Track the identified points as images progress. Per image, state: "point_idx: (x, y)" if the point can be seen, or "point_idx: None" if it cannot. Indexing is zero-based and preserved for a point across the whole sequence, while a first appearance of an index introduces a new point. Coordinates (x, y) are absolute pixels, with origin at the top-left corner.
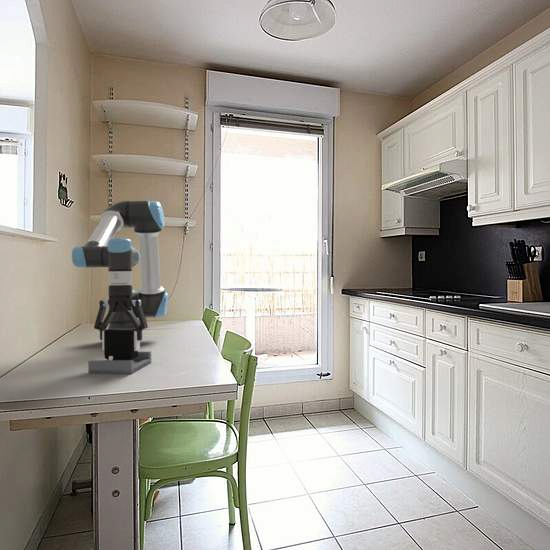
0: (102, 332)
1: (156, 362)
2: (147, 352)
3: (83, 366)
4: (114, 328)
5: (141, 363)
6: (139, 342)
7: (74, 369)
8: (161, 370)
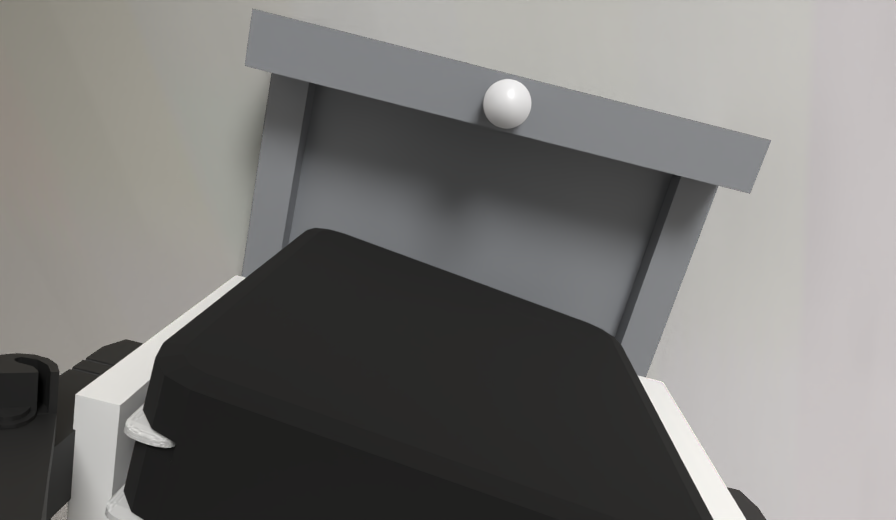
0: (87, 514)
1: (769, 125)
2: (721, 185)
3: (81, 172)
4: (242, 474)
5: (644, 373)
6: (688, 439)
7: (58, 276)
8: (807, 452)
